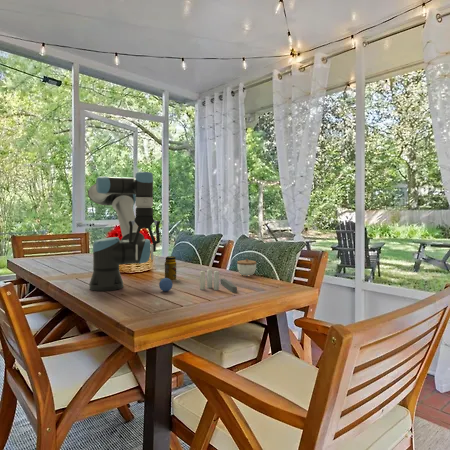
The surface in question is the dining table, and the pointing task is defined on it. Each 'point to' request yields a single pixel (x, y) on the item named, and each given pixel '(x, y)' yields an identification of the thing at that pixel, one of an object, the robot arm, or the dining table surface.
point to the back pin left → (209, 278)
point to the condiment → (170, 268)
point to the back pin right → (216, 280)
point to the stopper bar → (229, 285)
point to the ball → (165, 284)
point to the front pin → (202, 280)
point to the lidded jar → (246, 267)
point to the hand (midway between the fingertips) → (144, 259)
